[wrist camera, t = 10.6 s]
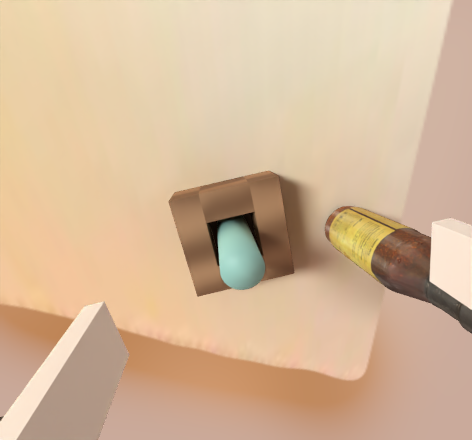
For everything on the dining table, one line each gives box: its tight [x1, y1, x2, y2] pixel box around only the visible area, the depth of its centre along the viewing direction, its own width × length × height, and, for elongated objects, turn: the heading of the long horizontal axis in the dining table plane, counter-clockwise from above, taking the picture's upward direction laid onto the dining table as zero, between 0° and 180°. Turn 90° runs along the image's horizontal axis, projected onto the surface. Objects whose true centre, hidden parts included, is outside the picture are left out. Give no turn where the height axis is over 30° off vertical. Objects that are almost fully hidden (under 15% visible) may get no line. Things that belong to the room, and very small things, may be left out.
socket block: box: [169, 171, 294, 296], centre depth 32 cm, size 12×12×5 cm
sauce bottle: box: [325, 206, 472, 333], centre depth 26 cm, size 6×6×20 cm
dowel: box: [217, 215, 265, 290], centre depth 28 cm, size 4×4×12 cm
